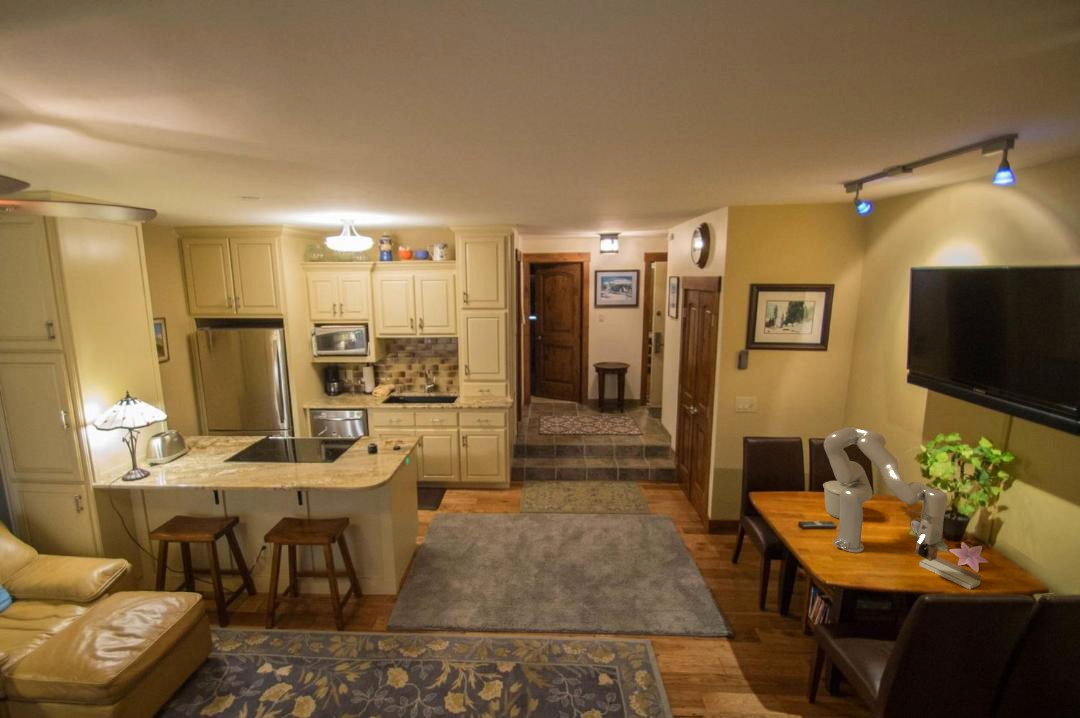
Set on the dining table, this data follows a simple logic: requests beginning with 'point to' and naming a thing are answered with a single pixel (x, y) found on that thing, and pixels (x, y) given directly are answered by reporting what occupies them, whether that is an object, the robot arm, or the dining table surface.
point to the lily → (969, 556)
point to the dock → (952, 572)
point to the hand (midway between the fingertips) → (925, 553)
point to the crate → (929, 551)
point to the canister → (833, 497)
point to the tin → (916, 525)
